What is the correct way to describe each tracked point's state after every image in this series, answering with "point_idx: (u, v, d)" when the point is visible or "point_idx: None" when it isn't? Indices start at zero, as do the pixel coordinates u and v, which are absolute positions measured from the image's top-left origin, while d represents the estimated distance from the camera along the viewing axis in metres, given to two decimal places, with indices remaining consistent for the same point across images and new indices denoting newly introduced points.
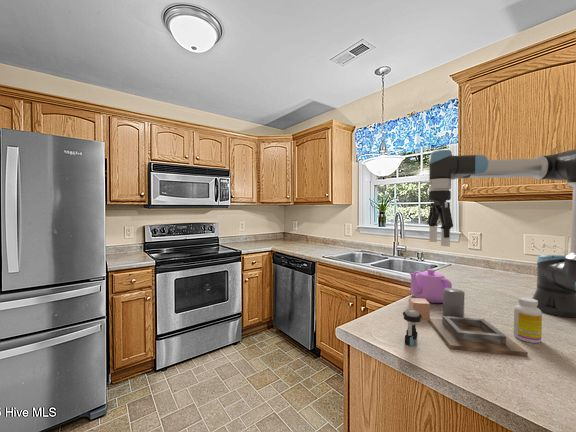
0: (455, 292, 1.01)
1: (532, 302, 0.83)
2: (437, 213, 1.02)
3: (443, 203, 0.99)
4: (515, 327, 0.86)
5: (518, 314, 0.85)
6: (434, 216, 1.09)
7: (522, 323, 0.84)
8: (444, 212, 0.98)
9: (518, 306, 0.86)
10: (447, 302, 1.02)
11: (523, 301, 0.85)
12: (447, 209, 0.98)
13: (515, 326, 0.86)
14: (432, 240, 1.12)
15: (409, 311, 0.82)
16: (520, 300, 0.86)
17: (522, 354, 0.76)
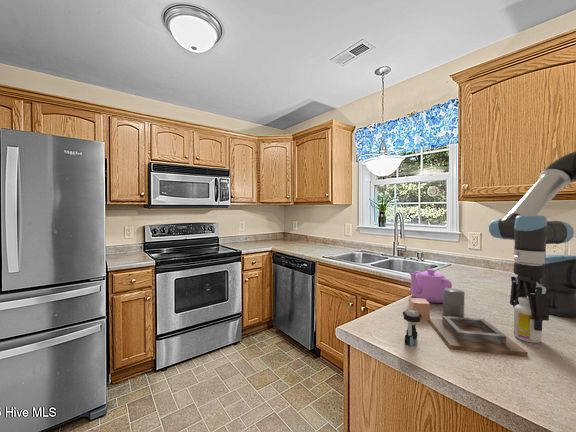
0: (455, 292, 1.01)
1: None
2: (526, 294, 0.84)
3: (540, 289, 0.79)
4: (515, 327, 0.86)
5: (518, 314, 0.85)
6: (521, 295, 0.88)
7: (522, 323, 0.84)
8: (539, 301, 0.79)
9: (518, 306, 0.86)
10: (447, 302, 1.02)
11: (523, 301, 0.85)
12: (544, 297, 0.79)
13: (515, 326, 0.86)
14: None
15: (409, 311, 0.82)
16: (520, 300, 0.86)
17: (522, 354, 0.76)
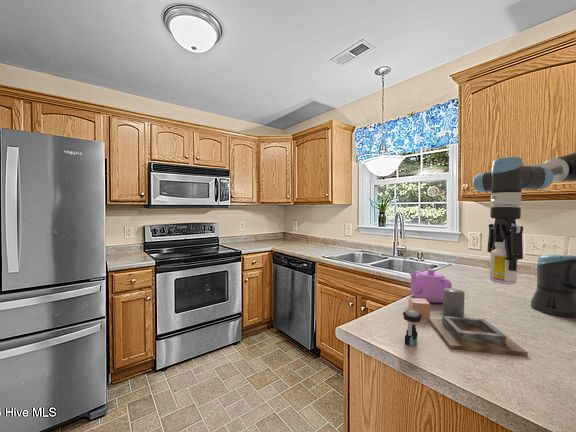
0: (455, 292, 1.01)
1: None
2: (502, 236, 0.84)
3: (515, 228, 0.79)
4: (491, 271, 0.86)
5: (494, 257, 0.85)
6: (498, 240, 0.88)
7: (497, 266, 0.84)
8: (514, 240, 0.79)
9: (494, 250, 0.86)
10: (447, 302, 1.02)
11: (499, 244, 0.85)
12: (518, 236, 0.79)
13: (491, 270, 0.86)
14: None
15: (409, 311, 0.82)
16: (496, 243, 0.85)
17: (522, 354, 0.76)
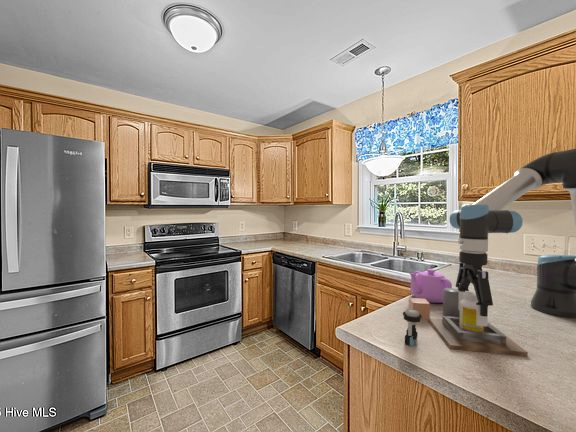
0: (455, 292, 1.01)
1: (475, 296, 0.85)
2: (471, 281, 0.84)
3: (480, 273, 0.80)
4: (460, 321, 0.88)
5: (462, 308, 0.87)
6: (465, 280, 0.90)
7: (465, 317, 0.86)
8: (481, 285, 0.79)
9: (463, 300, 0.88)
10: (447, 302, 1.02)
11: (467, 295, 0.86)
12: (485, 281, 0.79)
13: (460, 320, 0.88)
14: None
15: (409, 311, 0.82)
16: (464, 294, 0.87)
17: (522, 354, 0.76)
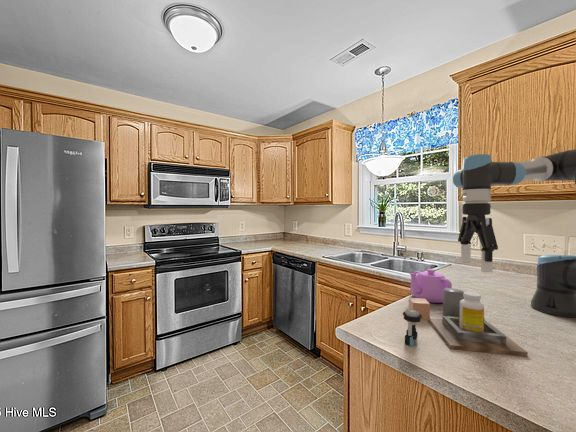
0: (455, 292, 1.01)
1: (474, 296, 0.85)
2: (474, 231, 0.84)
3: (483, 219, 0.81)
4: (460, 321, 0.88)
5: (462, 308, 0.87)
6: (468, 233, 0.91)
7: (465, 317, 0.86)
8: (485, 231, 0.80)
9: (462, 300, 0.88)
10: (447, 302, 1.02)
11: (466, 295, 0.86)
12: (489, 227, 0.80)
13: (460, 320, 0.88)
14: (465, 260, 0.94)
15: (409, 311, 0.82)
16: (464, 294, 0.87)
17: (522, 354, 0.76)
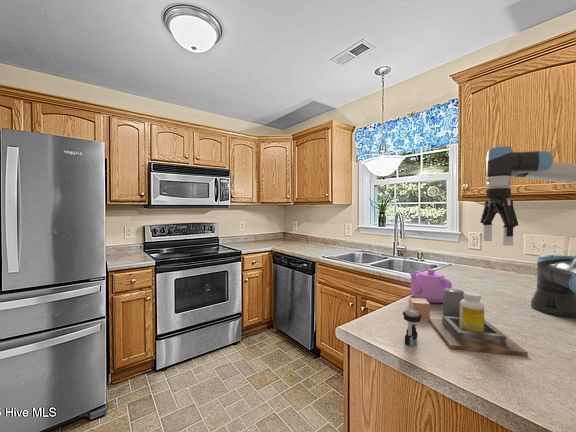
0: (455, 292, 1.01)
1: (475, 296, 0.85)
2: (497, 211, 0.99)
3: (506, 201, 0.96)
4: (460, 321, 0.88)
5: (462, 308, 0.87)
6: (490, 214, 1.06)
7: (465, 317, 0.86)
8: (507, 210, 0.95)
9: (463, 300, 0.88)
10: (447, 302, 1.02)
11: (467, 295, 0.86)
12: (510, 207, 0.95)
13: (460, 320, 0.88)
14: (487, 239, 1.09)
15: (409, 311, 0.82)
16: (464, 294, 0.87)
17: (522, 354, 0.76)
